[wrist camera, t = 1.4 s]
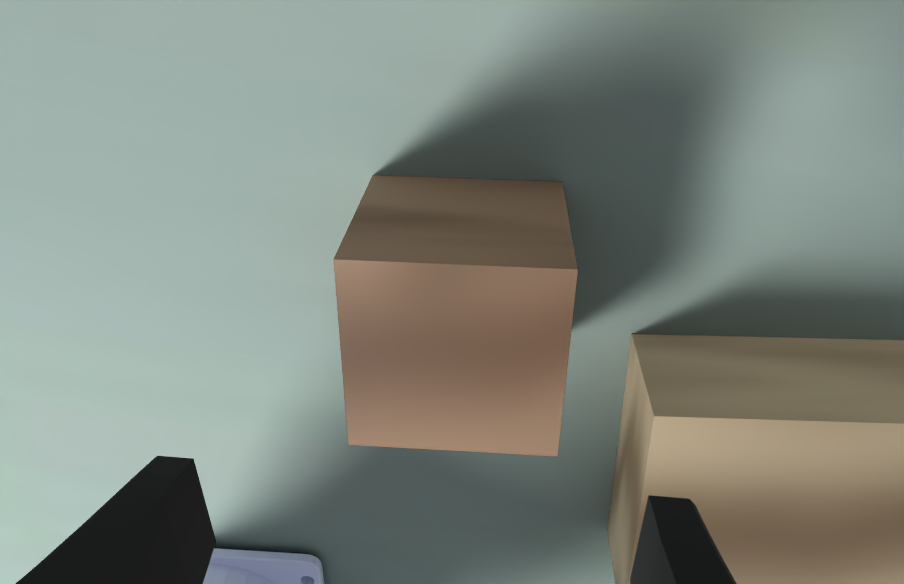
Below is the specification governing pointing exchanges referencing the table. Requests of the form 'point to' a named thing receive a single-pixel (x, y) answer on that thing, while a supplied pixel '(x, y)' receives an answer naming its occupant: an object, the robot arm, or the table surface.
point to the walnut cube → (456, 314)
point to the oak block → (768, 453)
